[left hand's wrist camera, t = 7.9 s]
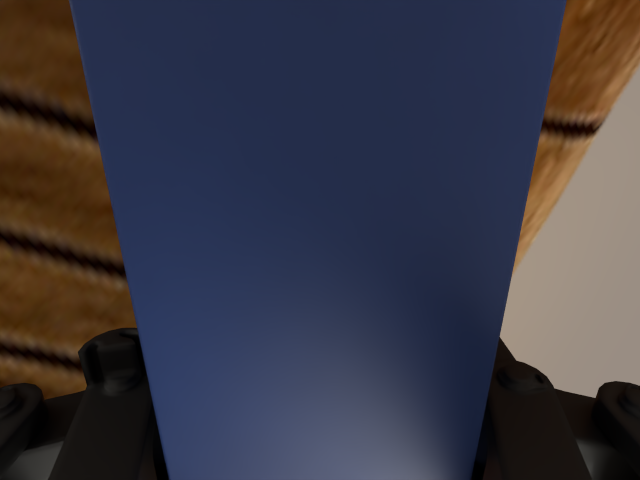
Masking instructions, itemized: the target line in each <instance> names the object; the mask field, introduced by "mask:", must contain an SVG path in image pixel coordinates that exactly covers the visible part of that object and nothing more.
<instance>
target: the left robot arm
mask: <svg viewBox="0 0 640 480" xmlns="http://www.w3.org/2000/svg"><path fill="white" fill-rule="evenodd" d="M78 354H79V358H80V361H81V365H82V369H83V372H84V376H85V379H86V383H87V388H86V390H84V391H81V392H77V393H73V394H69V395H64V396H60V397H55V398H51V399H46V400H44V397H43V394H42V391H41V389H40V388H39V387H37V386H36V385H34V384H28V383H20V384H12V385H8V386H4V387H2V388H0V480H169V478H168V473H167V468H166V463H165V458H164V454H163V449H162V444H161V439H160V434H159V430H158V425H157V420H156V415H155V410H154V406H153V401H152V396H151V391H150V386H149V382H148V377H147V372H146V367H145V362H144V358H143V353H142V348H141V343H140V338H139V334H138V329H137V328H120V329H116V330H111V331H108V332H105V333H103V334H100V335H98V336H96V337H94V338H93V339H91V340H90V341H88V342H87V343H85V344H84V345H83V346H82V348H81V349H80V350H79V351H78ZM471 480H640V386H638V385H635V384H632V383H626V382H618V381H614V382H608V383H604V384H603V385H602V386H601V387H600V388H599V390H598V393H597V396H596V398H592V397H588V396H583V395H579V394H574V393H570V392H565V391H562V390H558V389H554V387H553V385H552V383H551V382H550V381H549V379H548V378H547V376H545V375H544V374H543V373H541V372H540V371H539V370H538V369H536V368H534V367H532V366H530V365H528V364H526V363H523V362H519V361H516V360H515V358H514V357H513V355H512V354H511V352H510V351H509V350H508V348H507V347H506V345H505V344H504V342H503V341H502V340H501V338H500V337H499V342H498V347H497V352H496V357H495V362H494V367H493V372H492V377H491V382H490V387H489V392H488V397H487V402H486V407H485V412H484V417H483V422H482V427H481V432H480V437H479V442H478V447H477V452H476V457H475V462H474V467H473V472H472V477H471Z"/></svg>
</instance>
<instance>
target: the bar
mask: <svg viewBox="0 0 640 480" xmlns="http://www.w3.org/2000/svg"><path fill="white" fill-rule="evenodd" d="M69 2H70V7H71V12H72V16H73V21H74V26H75V31H76V36H77V40H78V45H79V50H80V55H81V60H82V64H83V69H84V74H85V79H86V84H87V89H88V93H89V98H90V103H91V108H92V113H93V117H94V122H95V127H96V132H97V137H98V141H99V146H100V151H101V156H102V161H103V165H104V170H105V175H106V180H107V185H108V189H109V194H110V199H111V204H112V209H113V213H114V218H115V223H116V228H117V233H118V237H119V242H120V247H121V252H122V257H123V261H124V266H125V271H126V276H127V281H128V285H129V290H130V295H131V300H132V305H133V310H134V314H135V319H136V324H137V329H138V334H139V338H140V343H141V348H142V353H143V358H144V362H145V367H146V372H147V377H148V382H149V386H150V391H151V396H152V401H153V406H154V410H155V415H156V420H157V425H158V430H159V434H160V439H161V444H162V449H163V454H164V458H165V463H166V468H167V473H168V478H169V480H471V477H472V472H473V467H474V462H475V457H476V452H477V447H478V442H479V437H480V432H481V427H482V422H483V417H484V412H485V407H486V402H487V397H488V392H489V387H490V382H491V377H492V372H493V367H494V362H495V357H496V352H497V347H498V342H499V337H500V331H501V326H502V322H503V316H504V311H505V306H506V301H507V296H508V291H509V286H510V281H511V276H512V271H513V266H514V261H515V256H516V251H517V246H518V241H519V236H520V231H521V226H522V221H523V216H524V211H525V206H526V201H527V196H528V191H529V186H530V181H531V176H532V171H533V166H534V161H535V156H536V151H537V146H538V141H539V136H540V131H541V126H542V121H543V116H544V111H545V105H546V100H547V95H548V90H549V85H550V80H551V75H552V70H553V65H554V60H555V55H556V50H557V45H558V40H559V35H560V30H561V25H562V20H563V15H564V10H565V5H566V0H69Z"/></svg>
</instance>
